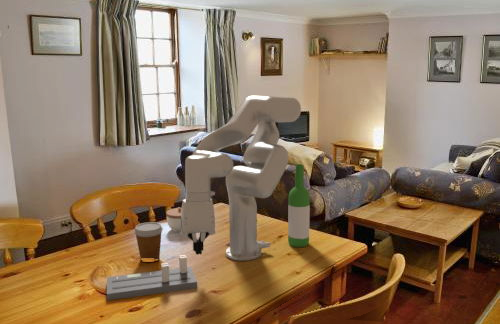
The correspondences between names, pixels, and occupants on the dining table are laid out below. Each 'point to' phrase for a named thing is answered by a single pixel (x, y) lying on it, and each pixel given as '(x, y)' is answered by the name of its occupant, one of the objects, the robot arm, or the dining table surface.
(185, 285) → the console
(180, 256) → the fader
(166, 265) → the fader
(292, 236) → the wine bottle
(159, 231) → the disposable coffee cup
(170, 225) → the lidded jar
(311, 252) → the dining table surface
